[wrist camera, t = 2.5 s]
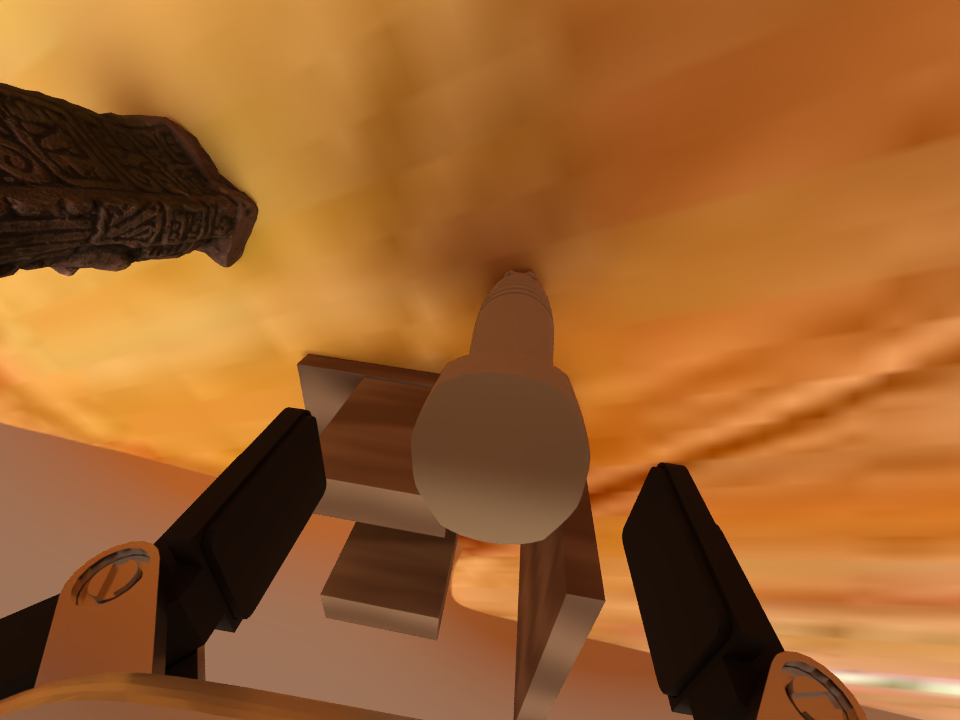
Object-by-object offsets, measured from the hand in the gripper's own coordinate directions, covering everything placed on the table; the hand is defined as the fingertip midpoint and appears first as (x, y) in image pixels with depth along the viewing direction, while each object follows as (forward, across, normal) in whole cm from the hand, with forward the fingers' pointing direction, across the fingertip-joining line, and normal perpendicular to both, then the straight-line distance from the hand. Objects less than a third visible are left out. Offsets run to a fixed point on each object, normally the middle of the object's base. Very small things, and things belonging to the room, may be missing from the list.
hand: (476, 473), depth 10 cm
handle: (+15, -1, 0) cm, 15 cm away
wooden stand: (+15, +5, +14) cm, 21 cm away
